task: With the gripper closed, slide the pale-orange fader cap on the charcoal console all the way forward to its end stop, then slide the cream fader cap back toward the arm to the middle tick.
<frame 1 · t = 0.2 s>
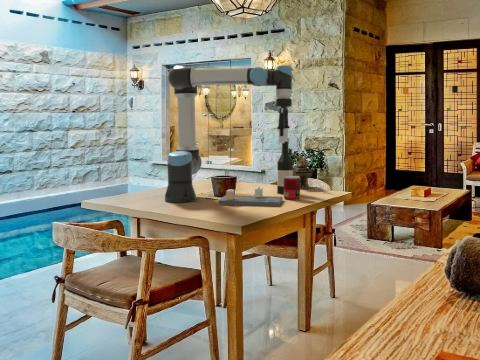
hand: (283, 142, 253), 28 cm above the table, fingers open, 13 cm apart
wine bottle: (284, 193, 273), on the table
console: (251, 202, 245), on the table
canned food: (291, 199, 256), on the table
fader a: (230, 194, 241), point 4 cm above the table, slide at 0.0 cm
fader b: (258, 192, 248), point 4 cm above the table, slide at 12.0 cm
potted plant: (300, 188, 292), on the table
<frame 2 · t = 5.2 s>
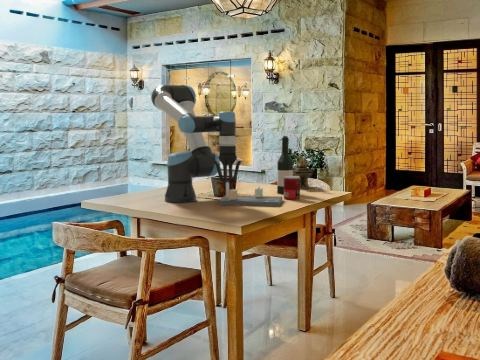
hand: (228, 196, 241), 4 cm above the table, fingers closed
fader a: (233, 194, 241), point 4 cm above the table, slide at 1.3 cm, touching gripper
everything else where it was.
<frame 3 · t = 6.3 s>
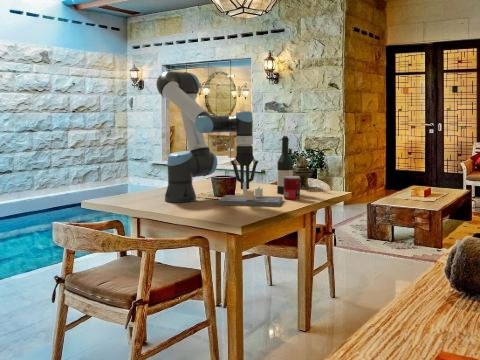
hand: (245, 196, 240), 4 cm above the table, fingers closed
fader a: (250, 194, 240), point 4 cm above the table, slide at 9.2 cm, touching gripper
everything else where it was.
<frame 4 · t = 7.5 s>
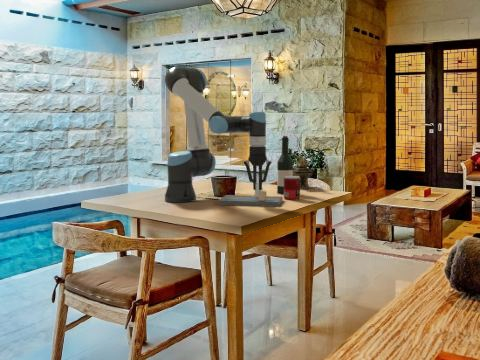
hand: (257, 197, 239), 4 cm above the table, fingers closed
fader a: (262, 195, 239), point 4 cm above the table, slide at 15.0 cm, touching gripper
everything else where it was.
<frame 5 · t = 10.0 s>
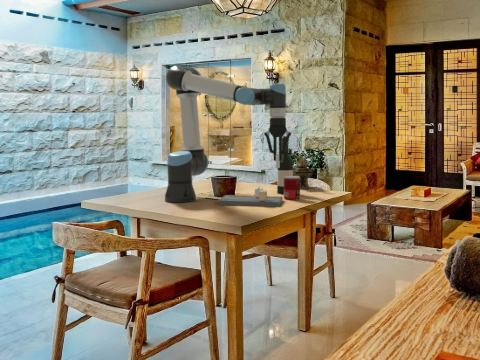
hand: (277, 167, 245), 16 cm above the table, fingers closed
fader a: (262, 195, 239), point 4 cm above the table, slide at 15.2 cm
everything else where it was.
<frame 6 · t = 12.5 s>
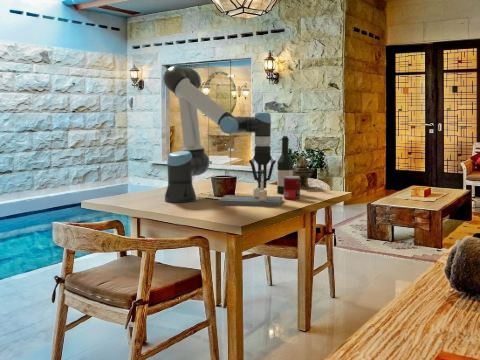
hand: (262, 194, 248), 3 cm above the table, fingers closed
fader b: (257, 192, 248), point 4 cm above the table, slide at 11.4 cm, touching gripper
everything else where it was.
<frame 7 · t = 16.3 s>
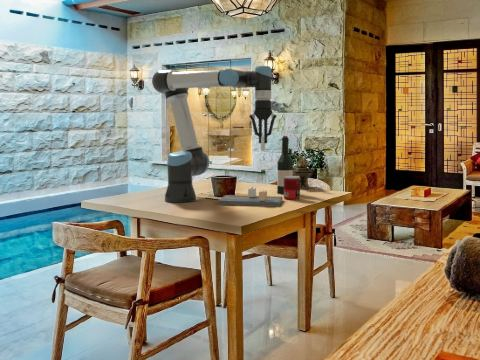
hand: (263, 150, 245), 24 cm above the table, fingers closed
fader b: (252, 191, 249), point 4 cm above the table, slide at 8.8 cm
everything else where it was.
at the end: fader a slide at 15.2 cm; fader b slide at 8.8 cm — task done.
